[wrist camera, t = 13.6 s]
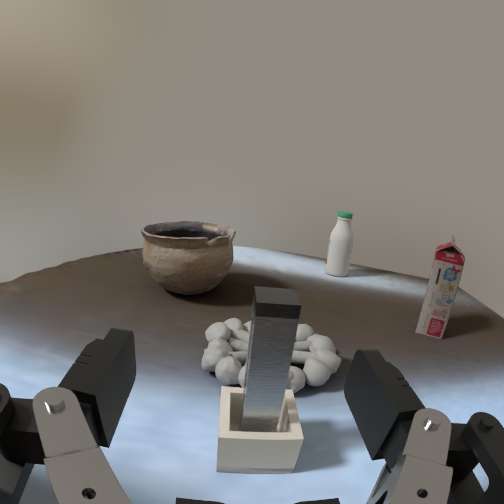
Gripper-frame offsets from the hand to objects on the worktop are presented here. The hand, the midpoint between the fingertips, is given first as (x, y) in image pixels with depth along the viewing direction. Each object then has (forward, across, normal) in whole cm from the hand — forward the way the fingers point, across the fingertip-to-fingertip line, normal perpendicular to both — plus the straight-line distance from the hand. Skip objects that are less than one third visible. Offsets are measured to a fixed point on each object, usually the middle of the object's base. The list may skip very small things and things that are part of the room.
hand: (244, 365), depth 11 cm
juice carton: (+44, -46, +23) cm, 68 cm away
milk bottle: (+84, -35, +24) cm, 94 cm away
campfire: (+33, -7, +24) cm, 41 cm away
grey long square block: (+14, -4, +22) cm, 26 cm away
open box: (+14, -4, +23) cm, 27 cm away
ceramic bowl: (+63, +10, +24) cm, 68 cm away
